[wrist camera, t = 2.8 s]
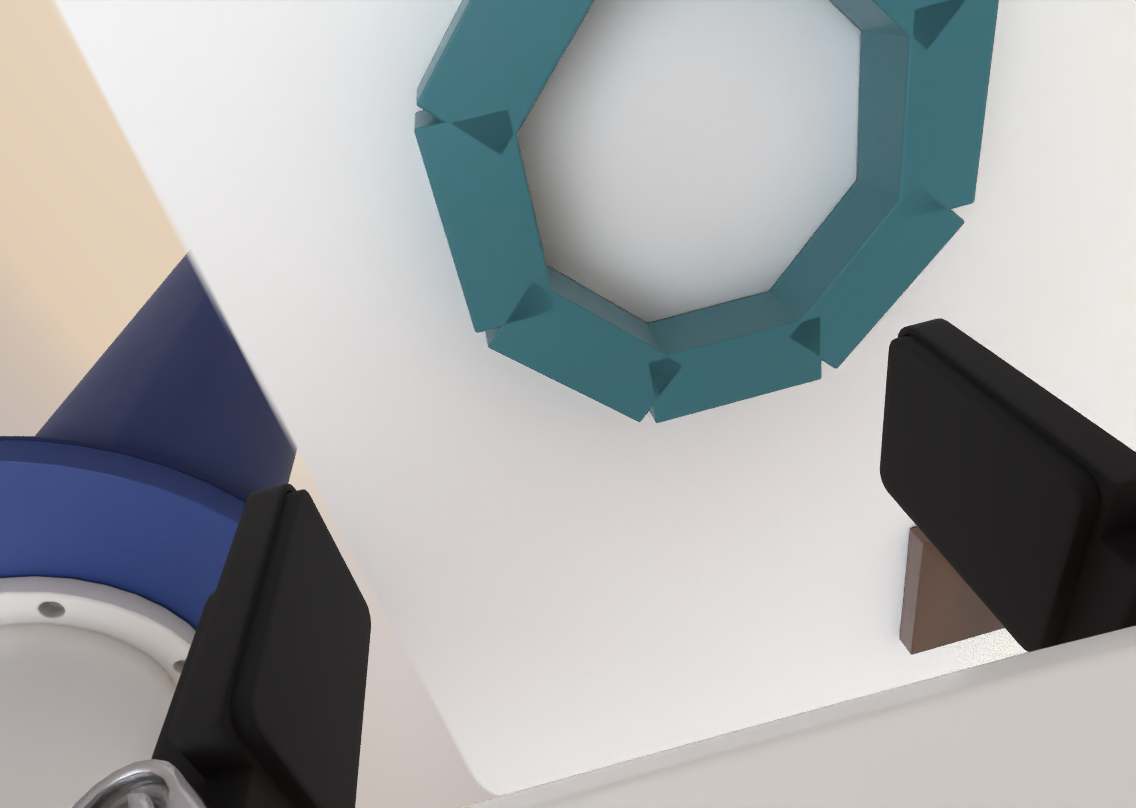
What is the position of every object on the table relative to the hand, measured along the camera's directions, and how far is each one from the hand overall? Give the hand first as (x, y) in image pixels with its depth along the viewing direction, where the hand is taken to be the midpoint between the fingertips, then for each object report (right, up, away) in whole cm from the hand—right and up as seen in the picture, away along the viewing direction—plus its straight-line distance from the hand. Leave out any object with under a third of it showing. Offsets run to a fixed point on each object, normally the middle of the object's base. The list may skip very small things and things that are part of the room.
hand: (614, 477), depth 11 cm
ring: (+4, +10, +13) cm, 17 cm away
